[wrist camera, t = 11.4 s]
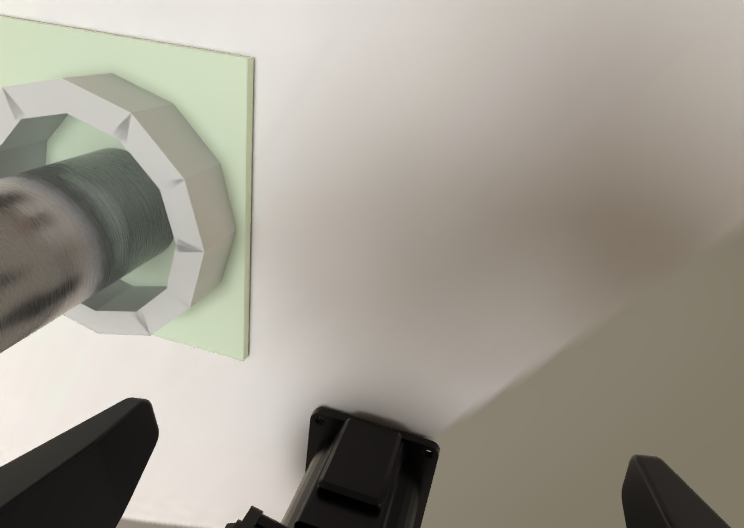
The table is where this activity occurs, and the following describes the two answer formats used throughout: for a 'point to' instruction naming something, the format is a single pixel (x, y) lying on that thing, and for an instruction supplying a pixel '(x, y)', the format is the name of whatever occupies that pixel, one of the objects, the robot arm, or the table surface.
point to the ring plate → (201, 103)
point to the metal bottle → (73, 235)
